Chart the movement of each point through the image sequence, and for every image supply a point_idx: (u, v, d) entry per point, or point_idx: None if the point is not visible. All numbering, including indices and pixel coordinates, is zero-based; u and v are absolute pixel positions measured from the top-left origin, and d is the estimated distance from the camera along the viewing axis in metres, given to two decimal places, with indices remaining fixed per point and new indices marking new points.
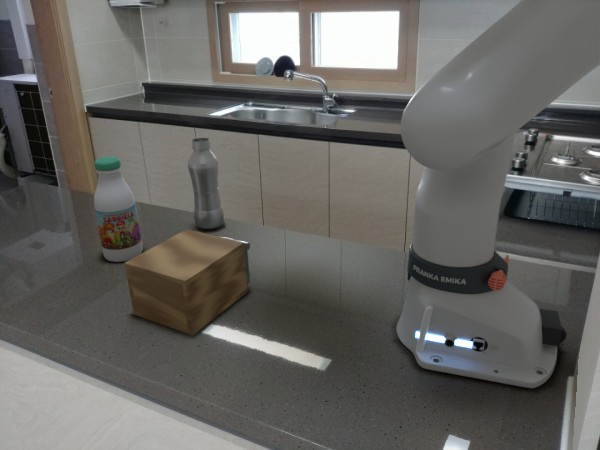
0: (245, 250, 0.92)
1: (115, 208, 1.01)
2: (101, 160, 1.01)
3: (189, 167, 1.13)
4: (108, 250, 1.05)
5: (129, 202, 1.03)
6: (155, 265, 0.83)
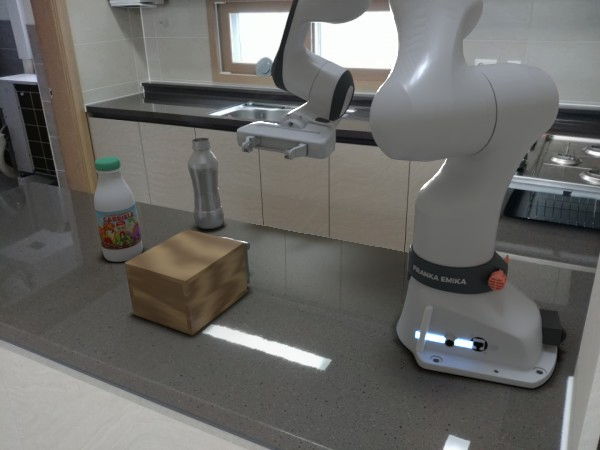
0: (245, 250, 0.92)
1: (115, 208, 1.01)
2: (101, 160, 1.01)
3: (189, 167, 1.13)
4: (108, 250, 1.05)
5: (129, 202, 1.03)
6: (155, 265, 0.83)
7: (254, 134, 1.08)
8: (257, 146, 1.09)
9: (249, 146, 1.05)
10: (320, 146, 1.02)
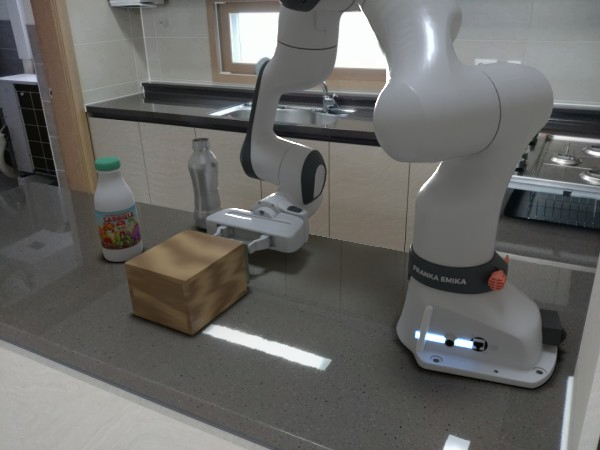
0: (245, 250, 0.92)
1: (115, 208, 1.01)
2: (101, 160, 1.01)
3: (189, 167, 1.13)
4: (108, 250, 1.05)
5: (129, 202, 1.03)
6: (155, 265, 0.83)
7: (222, 224, 1.03)
8: None
9: None
10: (287, 240, 0.97)
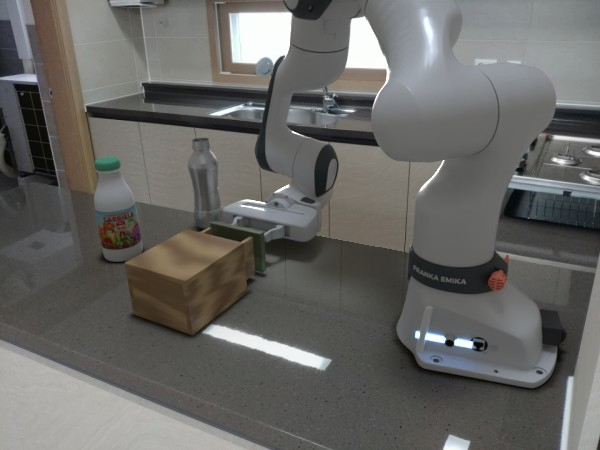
0: (262, 238, 0.96)
1: (115, 208, 1.01)
2: (101, 160, 1.01)
3: (189, 167, 1.13)
4: (108, 250, 1.05)
5: (129, 202, 1.03)
6: (155, 265, 0.83)
7: (238, 214, 1.07)
8: None
9: None
10: (302, 229, 1.01)
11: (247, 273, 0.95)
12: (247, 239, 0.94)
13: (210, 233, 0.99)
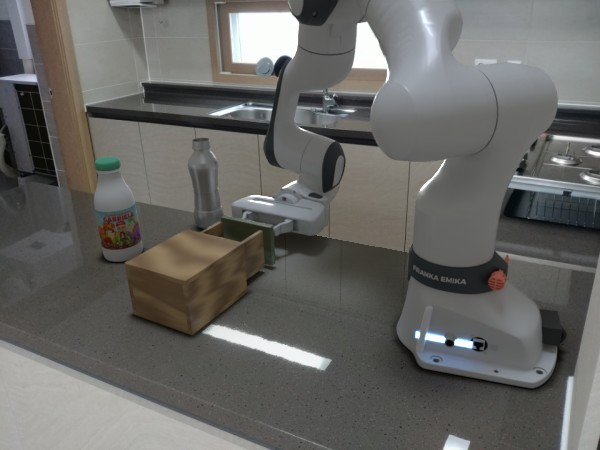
0: (272, 232, 0.99)
1: (115, 208, 1.01)
2: (101, 160, 1.01)
3: (189, 167, 1.13)
4: (108, 250, 1.05)
5: (129, 202, 1.03)
6: (155, 265, 0.83)
7: (247, 209, 1.10)
8: None
9: None
10: (310, 223, 1.03)
11: (257, 266, 0.98)
12: (257, 232, 0.96)
13: (221, 227, 1.01)
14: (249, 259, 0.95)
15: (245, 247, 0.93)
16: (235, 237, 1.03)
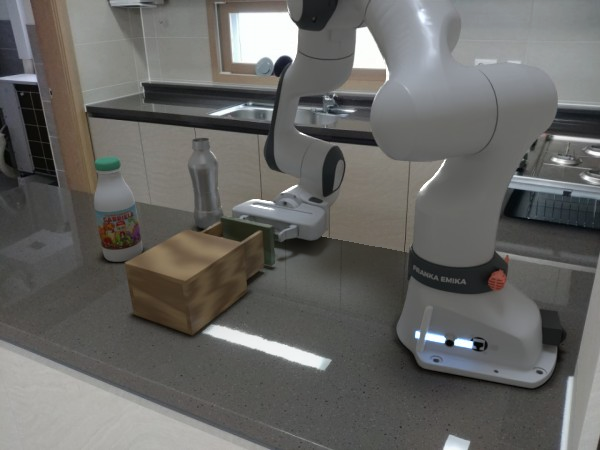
0: (271, 232, 0.99)
1: (115, 208, 1.01)
2: (101, 160, 1.01)
3: (189, 167, 1.13)
4: (108, 250, 1.05)
5: (129, 202, 1.03)
6: (155, 265, 0.83)
7: (248, 213, 1.10)
8: None
9: None
10: (310, 228, 1.04)
11: (257, 266, 0.98)
12: (257, 233, 0.96)
13: (220, 227, 1.01)
14: (248, 259, 0.95)
15: (245, 247, 0.93)
16: (235, 237, 1.03)
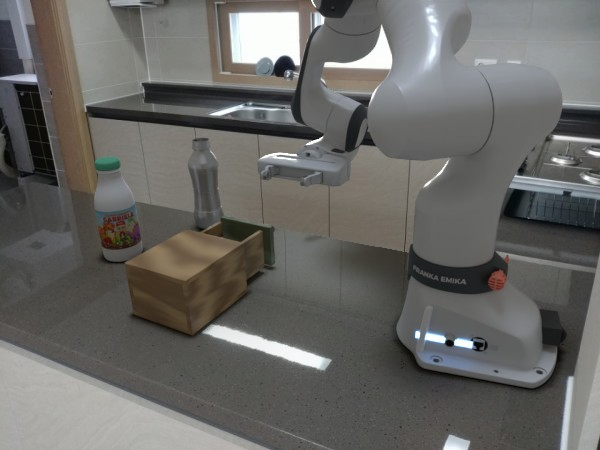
0: (271, 232, 0.99)
1: (115, 208, 1.01)
2: (101, 160, 1.01)
3: (189, 167, 1.13)
4: (108, 250, 1.05)
5: (129, 202, 1.03)
6: (155, 265, 0.83)
7: (273, 163, 1.15)
8: (276, 175, 1.16)
9: (268, 174, 1.12)
10: (334, 174, 1.08)
11: (257, 266, 0.98)
12: (257, 233, 0.96)
13: (220, 227, 1.01)
14: (248, 259, 0.95)
15: (245, 247, 0.93)
16: (235, 237, 1.03)
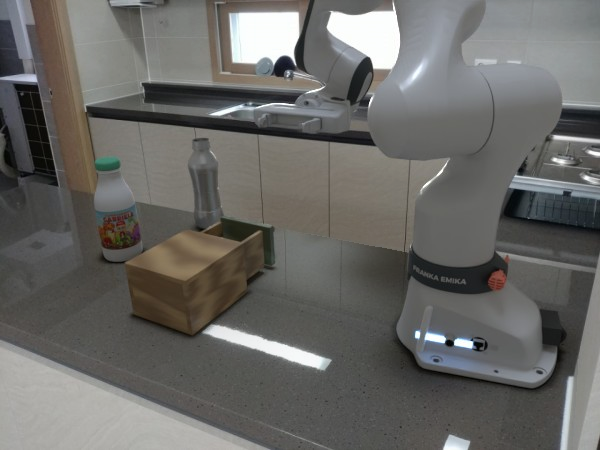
0: (271, 232, 0.99)
1: (115, 208, 1.01)
2: (101, 160, 1.01)
3: (189, 167, 1.13)
4: (108, 250, 1.05)
5: (129, 202, 1.03)
6: (155, 265, 0.83)
7: (270, 111, 1.11)
8: (273, 124, 1.12)
9: (265, 121, 1.07)
10: (334, 120, 1.04)
11: (257, 266, 0.98)
12: (257, 233, 0.96)
13: (220, 227, 1.01)
14: (248, 259, 0.95)
15: (245, 247, 0.93)
16: (235, 237, 1.03)
